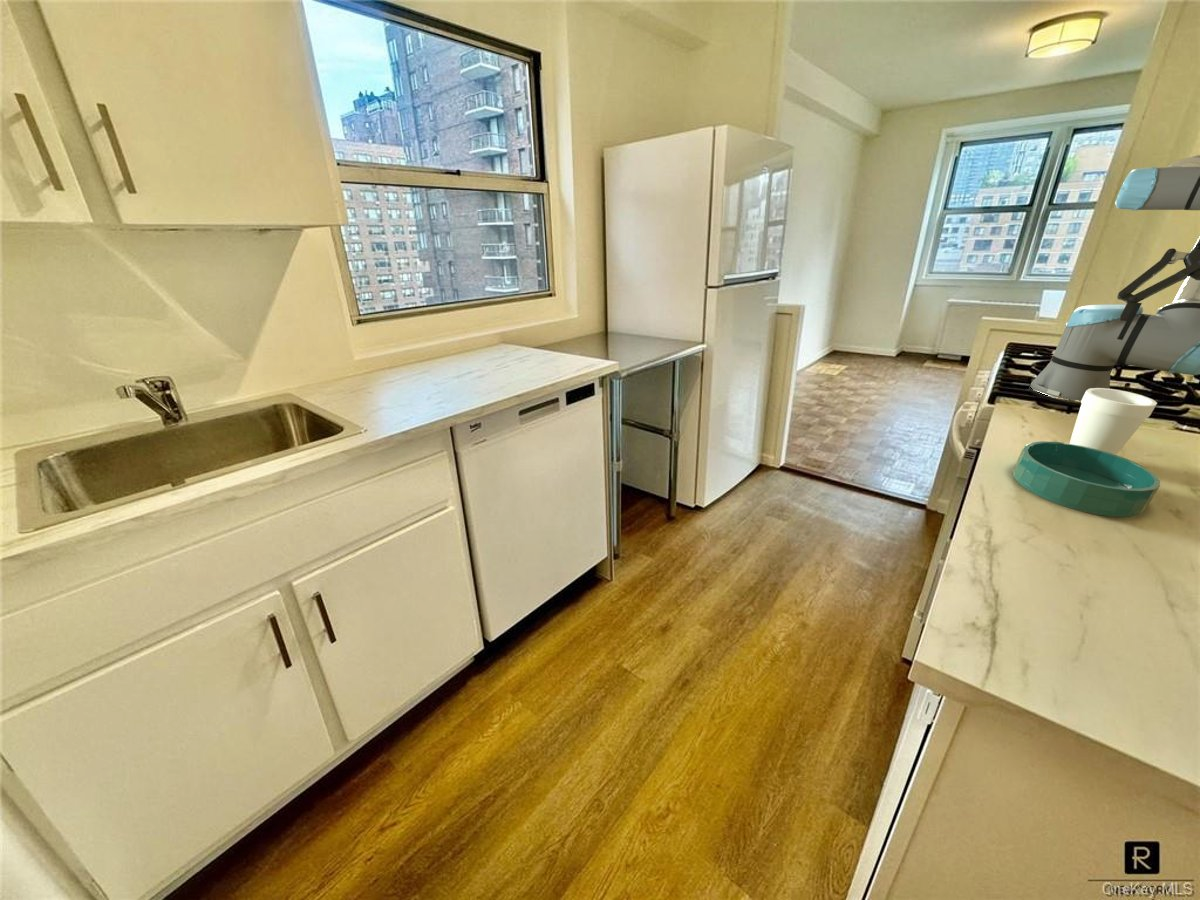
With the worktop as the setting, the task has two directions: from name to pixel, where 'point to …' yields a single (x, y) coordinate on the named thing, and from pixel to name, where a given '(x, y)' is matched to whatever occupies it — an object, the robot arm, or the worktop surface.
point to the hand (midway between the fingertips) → (1171, 346)
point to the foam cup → (1110, 418)
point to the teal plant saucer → (1085, 478)
